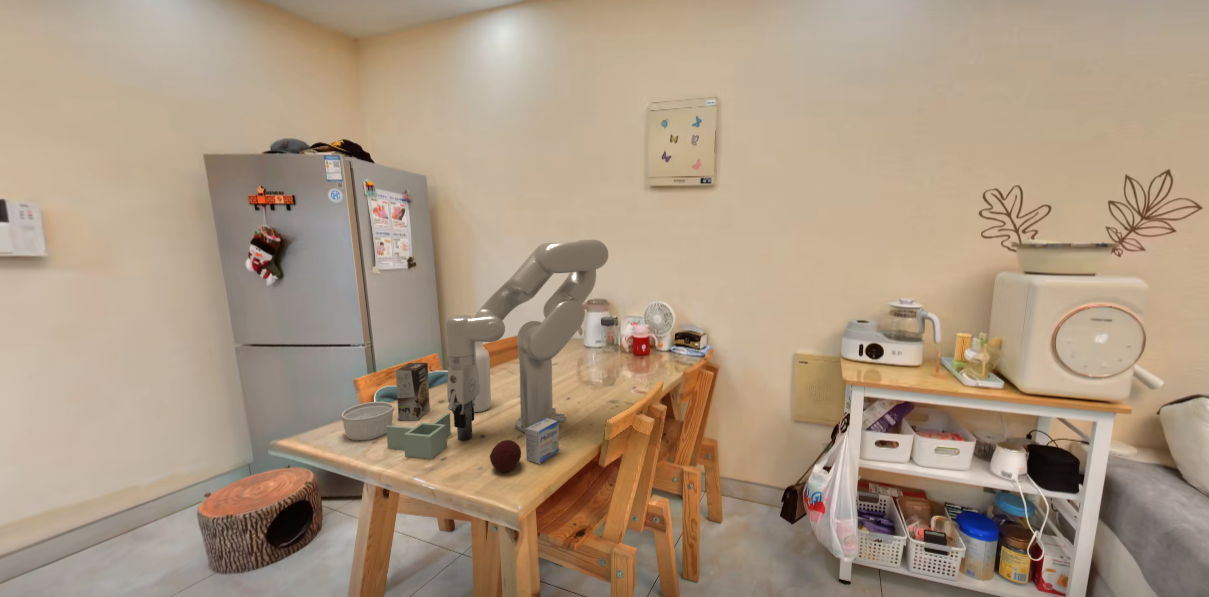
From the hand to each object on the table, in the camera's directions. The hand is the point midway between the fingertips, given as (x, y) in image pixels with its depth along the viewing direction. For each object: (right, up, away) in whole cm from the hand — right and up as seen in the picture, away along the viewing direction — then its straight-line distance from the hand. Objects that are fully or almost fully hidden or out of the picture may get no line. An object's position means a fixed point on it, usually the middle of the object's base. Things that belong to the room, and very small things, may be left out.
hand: (464, 423), depth 120 cm
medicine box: (+23, -6, -10) cm, 26 cm away
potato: (+15, -7, -15) cm, 23 cm away
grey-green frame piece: (-11, -5, -3) cm, 12 cm away
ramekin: (-29, -4, +4) cm, 29 cm away
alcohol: (-3, -2, +22) cm, 23 cm away
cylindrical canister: (0, -4, +1) cm, 4 cm away
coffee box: (-21, -3, +17) cm, 27 cm away
